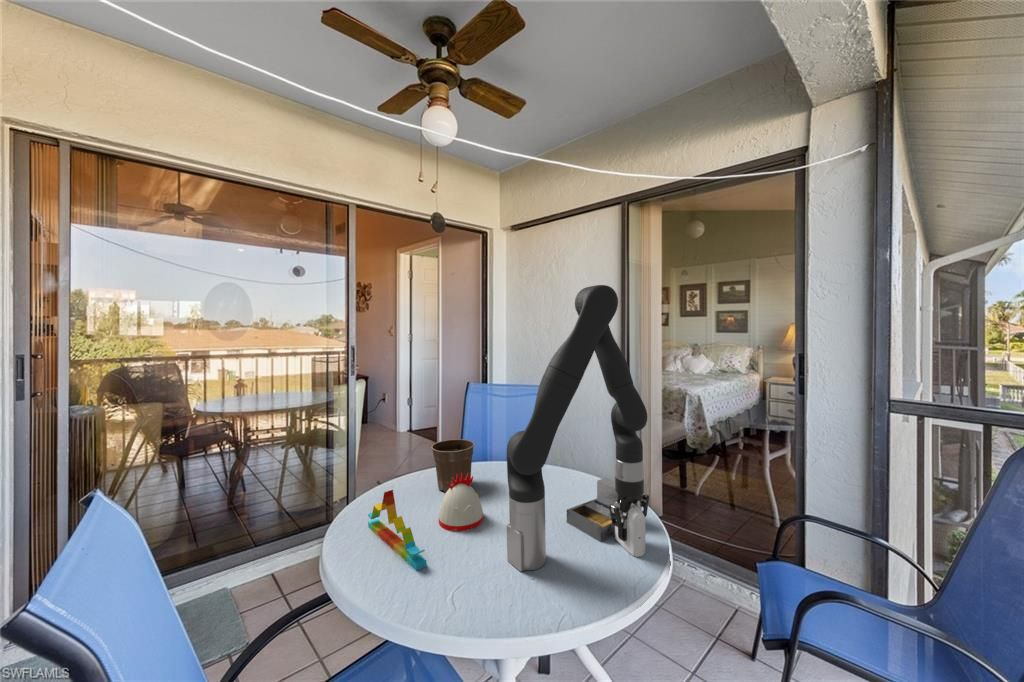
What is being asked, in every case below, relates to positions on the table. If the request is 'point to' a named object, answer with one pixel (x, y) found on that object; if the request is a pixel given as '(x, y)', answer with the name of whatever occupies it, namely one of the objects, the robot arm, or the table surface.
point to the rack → (596, 512)
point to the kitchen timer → (460, 506)
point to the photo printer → (634, 532)
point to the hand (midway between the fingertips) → (629, 536)
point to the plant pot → (452, 461)
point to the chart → (401, 547)
